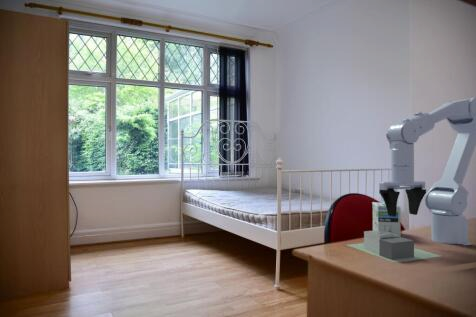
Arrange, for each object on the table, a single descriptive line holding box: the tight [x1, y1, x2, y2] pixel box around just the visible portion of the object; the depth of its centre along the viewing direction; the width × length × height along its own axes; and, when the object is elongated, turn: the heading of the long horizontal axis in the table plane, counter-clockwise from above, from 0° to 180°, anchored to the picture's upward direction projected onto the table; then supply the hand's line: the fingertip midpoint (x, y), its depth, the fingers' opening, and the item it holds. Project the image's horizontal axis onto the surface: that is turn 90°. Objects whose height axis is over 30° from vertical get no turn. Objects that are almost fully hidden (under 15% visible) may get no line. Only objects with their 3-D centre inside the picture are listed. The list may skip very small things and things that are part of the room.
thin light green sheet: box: [346, 237, 443, 264], centre depth 93 cm, size 15×18×5 cm
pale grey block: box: [363, 230, 398, 254], centre depth 92 cm, size 6×6×5 cm
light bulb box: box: [371, 201, 402, 238], centre depth 112 cm, size 11×7×11 cm, turn 168°
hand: (402, 215), depth 98 cm, fingers open, 7 cm apart
